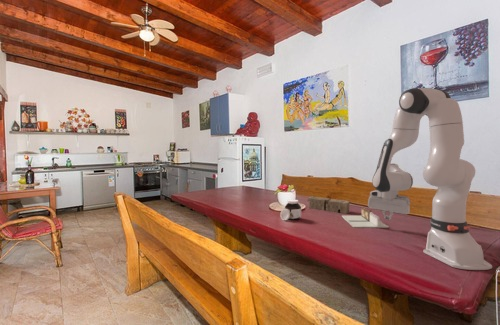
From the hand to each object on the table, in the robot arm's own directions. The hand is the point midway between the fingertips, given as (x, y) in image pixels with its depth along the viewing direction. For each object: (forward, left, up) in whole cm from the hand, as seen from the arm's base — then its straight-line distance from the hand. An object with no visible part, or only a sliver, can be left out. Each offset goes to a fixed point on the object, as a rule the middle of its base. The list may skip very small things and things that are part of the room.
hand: (387, 219), depth 141 cm
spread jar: (+20, +50, -6) cm, 54 cm away
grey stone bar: (+45, +21, -6) cm, 50 cm away
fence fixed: (+20, +4, -6) cm, 21 cm away
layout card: (+15, +7, -6) cm, 18 cm away
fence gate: (+7, +4, -5) cm, 10 cm away
